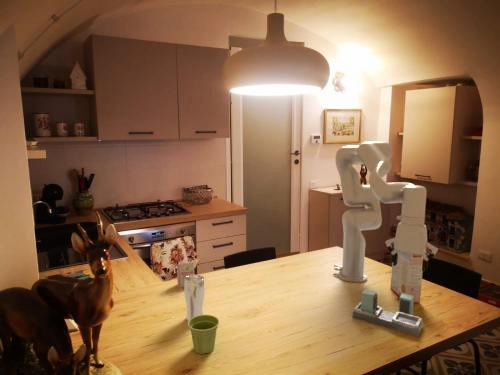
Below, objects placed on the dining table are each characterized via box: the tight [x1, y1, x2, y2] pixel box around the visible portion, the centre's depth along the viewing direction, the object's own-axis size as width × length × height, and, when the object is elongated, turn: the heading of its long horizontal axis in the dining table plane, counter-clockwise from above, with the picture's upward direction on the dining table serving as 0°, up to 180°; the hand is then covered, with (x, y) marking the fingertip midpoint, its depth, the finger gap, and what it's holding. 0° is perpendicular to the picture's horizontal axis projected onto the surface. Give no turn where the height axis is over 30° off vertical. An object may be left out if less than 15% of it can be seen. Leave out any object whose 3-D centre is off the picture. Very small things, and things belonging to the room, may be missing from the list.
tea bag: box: [176, 261, 196, 289], centre depth 159 cm, size 4×7×10 cm, turn 110°
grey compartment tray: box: [351, 301, 424, 338], centre depth 130 cm, size 22×7×4 cm, turn 55°
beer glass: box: [183, 274, 205, 322], centre depth 130 cm, size 7×7×15 cm
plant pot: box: [187, 314, 220, 355], centre depth 113 cm, size 9×9×9 cm
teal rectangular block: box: [360, 288, 379, 313], centre depth 133 cm, size 4×4×7 cm
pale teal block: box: [398, 293, 414, 315], centre depth 135 cm, size 4×4×7 cm
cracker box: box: [389, 242, 424, 304], centre depth 150 cm, size 14×6×21 cm, turn 5°
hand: (409, 267), depth 133 cm, fingers open, 9 cm apart
